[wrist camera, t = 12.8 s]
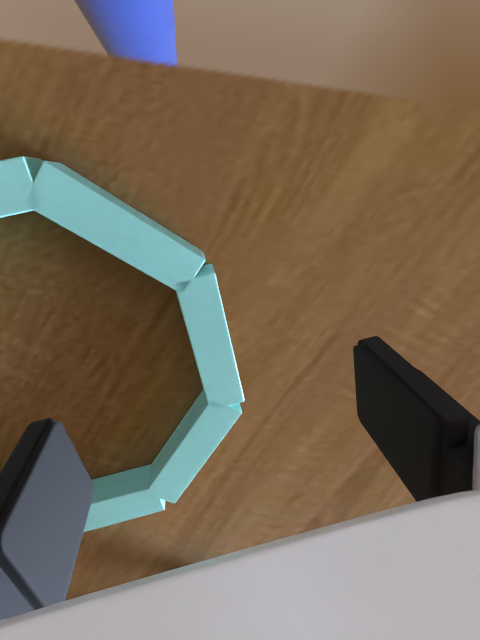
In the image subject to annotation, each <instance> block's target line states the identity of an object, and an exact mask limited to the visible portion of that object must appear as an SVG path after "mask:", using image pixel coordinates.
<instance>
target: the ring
mask: <svg viewBox="0 0 480 640" xmlns="http://www.w3.org/2000/svg"><path fill="white" fill-rule="evenodd" d="M29 211H36V212H38V213H39V214H41V215H43V216H45V217H46V218H48V219H50V220H52V221H54V222H55V223H57V224H59V225H61V226H62V227H64V228H66V229H68V230H69V231H71V232H73V233H75V234H77V235H78V236H80V237H82V238H84V239H85V240H87V241H89V242H91V243H93V244H94V245H96V246H98V247H100V248H101V249H103V250H105V251H107V252H108V253H110V254H112V255H114V256H116V257H117V258H119V259H121V260H123V261H124V262H126V263H128V264H130V265H131V266H133V267H135V268H137V269H139V270H140V271H142V272H144V273H146V274H147V275H149V276H151V277H153V278H155V279H156V280H158V281H160V282H162V283H163V284H165V285H167V286H169V287H170V288H172V289H174V290H176V293H177V297H178V300H179V304H180V307H181V311H182V315H183V318H184V322H185V325H186V329H187V332H188V336H189V339H190V343H191V346H192V350H193V353H194V357H195V360H196V364H197V367H198V371H199V374H200V378H201V381H202V385H203V390H202V392H201V393H200V395H199V396H198V397H197V399H196V400H195V402H194V403H193V405H192V406H191V408H190V409H189V410H188V412H187V413H186V415H185V416H184V418H183V419H182V420H181V422H180V423H179V425H178V426H177V428H176V429H175V431H174V432H173V433H172V435H171V436H170V438H169V439H168V441H167V442H166V444H165V445H164V446H163V448H162V449H161V451H160V452H159V454H158V455H157V457H156V458H155V459H154V461H153V462H152V464H149V465H146V466H142V467H138V468H134V469H130V470H127V471H123V472H119V473H115V474H111V475H108V476H104V477H100V478H96V479H92V483H93V487H94V494H93V498H92V502H91V505H90V509H89V513H88V517H87V521H86V524H85V528H84V532H85V531H89V530H93V529H96V528H100V527H104V526H107V525H111V524H115V523H118V522H122V521H126V520H129V519H133V518H137V517H140V516H144V515H148V514H151V513H155V512H159V511H162V510H165V501H168V502H171V503H175V502H176V501H177V500H178V498H179V497H180V496H181V494H182V493H183V491H184V490H185V489H186V487H187V486H188V485H189V483H190V482H191V481H192V479H193V478H194V477H195V475H196V474H197V473H198V471H199V470H200V469H201V467H202V466H203V465H204V463H205V462H206V461H207V459H208V458H209V456H210V455H211V454H212V452H213V451H214V450H215V448H216V447H217V446H218V444H219V443H220V442H221V440H222V439H223V438H224V436H225V435H226V434H227V432H228V431H229V430H230V428H231V427H232V426H233V424H234V423H235V421H236V420H237V419H238V417H239V416H240V415H241V413H242V411H241V407H240V402H244V395H243V391H242V387H241V382H240V378H239V374H238V369H237V365H236V361H235V357H234V352H233V348H232V344H231V339H230V335H229V331H228V326H227V322H226V318H225V313H224V309H223V305H222V301H221V296H220V292H219V288H218V283H217V279H216V275H215V271H214V268H213V265H212V264H207V265H203V263H204V262H205V257H204V253H203V251H201V250H200V249H198V248H197V247H195V246H193V245H192V244H190V243H189V242H187V241H185V240H184V239H182V238H181V237H179V236H177V235H176V234H174V233H172V232H171V231H169V230H168V229H166V228H164V227H163V226H161V225H160V224H158V223H156V222H155V221H153V220H152V219H150V218H148V217H147V216H145V215H144V214H142V213H140V212H139V211H137V210H136V209H134V208H132V207H131V206H129V205H127V204H126V203H124V202H123V201H121V200H119V199H118V198H116V197H115V196H113V195H111V194H110V193H108V192H107V191H105V190H103V189H102V188H100V187H99V186H97V185H95V184H94V183H92V182H90V181H89V180H87V179H86V178H84V177H82V176H81V175H79V174H78V173H76V172H74V171H73V170H71V169H70V168H68V167H66V166H65V165H63V164H62V163H58V162H51V161H43V162H42V160H41V159H38V158H31V157H24V156H20V157H15V158H10V159H5V160H0V218H1V217H6V216H11V215H15V214H20V213H25V212H29ZM202 265H203V266H202Z"/></svg>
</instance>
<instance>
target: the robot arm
mask: <svg viewBox="0 0 480 640" xmlns="http://www.w3.org/2000/svg"><path fill="white" fill-rule="evenodd" d="M353 354H354V369H355V385H356V401H357V413H358V417H359V420H360V422H361V423H362V425H363V426H364V428H365V429H366V430H367V432H368V433H369V435H370V436H371V438H372V439H373V440H374V442H375V443H376V445H377V446H378V447H379V449H380V450H381V452H382V453H383V455H384V456H385V457H386V459H387V460H388V462H389V463H390V464H391V466H392V467H393V469H394V470H395V472H396V473H397V474H398V476H399V477H400V479H401V480H402V481H403V483H404V484H405V486H406V487H407V489H408V490H409V491H410V493H411V494H412V496H413V497H414V498H415V500H416V501H417V502H414V503H410V504H407V505H403V506H399V507H395V508H391V509H387V510H383V511H379V512H376V513H372V514H368V515H365V516H361V517H357V518H354V519H350V520H347V521H343V522H339V523H336V524H332V525H329V526H325V527H321V528H318V529H314V530H311V531H307V532H303V533H300V534H296V535H293V536H289V537H285V538H282V539H278V540H275V541H271V542H268V543H264V544H261V545H257V546H254V547H250V548H247V549H243V550H239V551H236V552H232V553H229V554H225V555H222V556H218V557H215V558H211V559H208V560H204V561H201V562H197V563H194V564H190V565H187V566H183V567H180V568H176V569H173V570H169V571H166V572H162V573H159V574H155V575H152V576H149V577H145V578H142V579H138V580H135V581H131V582H128V583H124V584H121V585H118V586H114V587H111V588H107V589H104V590H100V591H97V592H93V593H90V594H87V595H83V596H80V597H76V598H73V599H69V600H66V596H67V592H68V588H69V585H70V581H71V577H72V573H73V570H74V566H75V562H76V558H77V554H78V551H79V547H80V543H81V539H82V536H83V532H84V528H85V524H86V521H87V517H88V513H89V509H90V505H91V502H92V498H93V494H94V487H93V483H92V480H91V478H90V477H89V475H88V473H87V471H86V469H85V467H84V465H83V463H82V461H81V459H80V457H79V456H78V454H77V452H76V450H75V448H74V446H73V444H72V442H71V440H70V438H69V436H68V434H67V433H66V431H65V429H64V427H63V425H62V423H61V422H60V421H55V420H54V419H52V418H48V419H44V420H40V421H36V422H32V423H30V424H29V425H28V427H27V428H26V430H25V432H24V433H23V435H22V437H21V438H20V440H19V442H18V444H17V445H16V447H15V449H14V450H13V452H12V454H11V455H10V457H9V459H8V461H7V462H6V464H5V466H4V467H3V469H2V471H1V472H0V640H480V421H479V420H478V419H477V418H476V417H474V416H473V415H472V414H471V413H470V412H468V411H467V410H466V409H465V408H464V407H463V406H461V405H460V404H459V403H458V402H457V401H456V400H454V399H453V398H452V397H451V396H450V395H448V394H447V393H446V392H445V391H444V390H443V389H441V388H440V387H439V386H438V385H437V384H435V383H434V382H433V381H432V380H431V379H430V378H428V377H427V376H426V375H425V374H424V373H423V372H421V371H420V370H418V369H416V368H414V367H413V366H412V365H411V364H410V363H409V362H407V361H406V360H405V359H404V358H403V357H402V356H400V355H399V354H398V353H397V352H396V351H395V350H393V349H392V348H391V347H390V346H389V345H388V344H386V343H385V342H384V341H383V340H382V339H381V338H379V337H378V336H374V337H370V338H366V339H362V340H359V341H358V345H357V346H354V348H353ZM65 600H66V601H65Z"/></svg>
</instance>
